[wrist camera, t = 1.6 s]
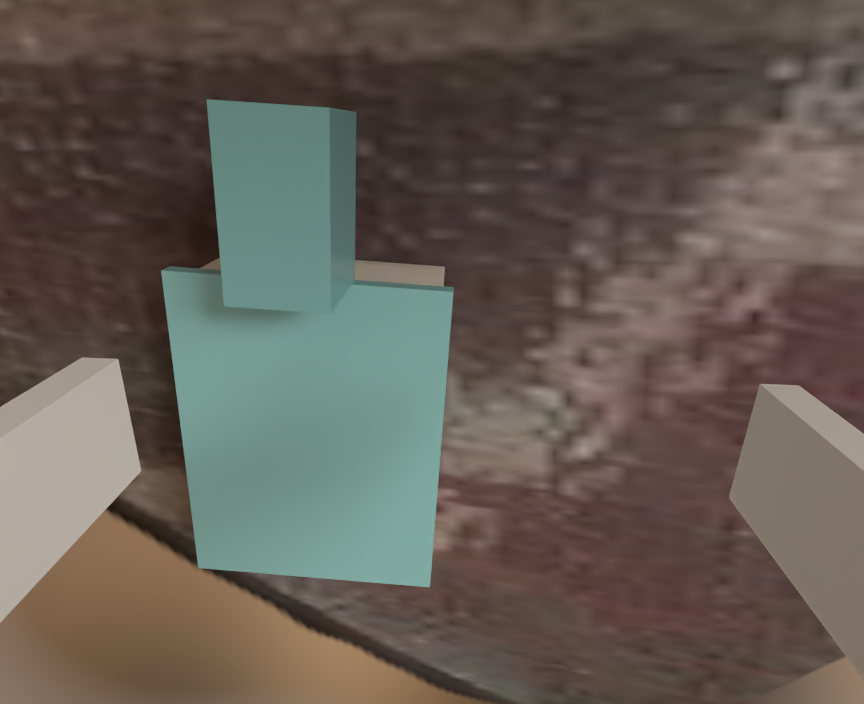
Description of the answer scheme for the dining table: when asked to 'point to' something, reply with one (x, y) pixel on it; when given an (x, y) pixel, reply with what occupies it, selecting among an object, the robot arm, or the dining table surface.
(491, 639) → the dining table surface
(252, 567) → the lid
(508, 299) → the dining table surface
